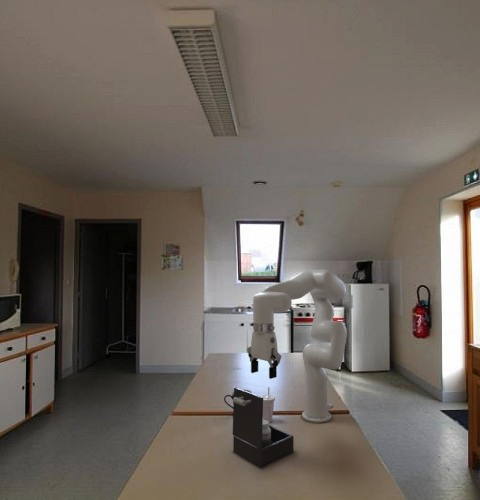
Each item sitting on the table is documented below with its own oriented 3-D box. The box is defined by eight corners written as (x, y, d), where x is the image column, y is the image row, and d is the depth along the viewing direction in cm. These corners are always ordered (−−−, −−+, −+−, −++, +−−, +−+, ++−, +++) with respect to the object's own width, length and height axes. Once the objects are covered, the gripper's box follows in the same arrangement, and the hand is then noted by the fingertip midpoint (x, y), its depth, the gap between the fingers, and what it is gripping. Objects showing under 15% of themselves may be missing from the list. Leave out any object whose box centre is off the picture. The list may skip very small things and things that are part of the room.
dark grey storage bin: (265, 438, 145) (265, 423, 146) (293, 452, 135) (293, 435, 135) (233, 452, 135) (233, 435, 135) (261, 468, 124) (261, 450, 124)
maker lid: (235, 387, 136) (224, 389, 133) (263, 397, 126) (251, 400, 122) (234, 434, 135) (222, 438, 132) (262, 448, 125) (250, 453, 121)
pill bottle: (255, 446, 137) (255, 419, 138) (270, 446, 138) (270, 418, 138) (256, 454, 132) (256, 425, 132) (271, 453, 132) (271, 424, 133)
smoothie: (273, 424, 159) (273, 390, 159) (258, 423, 160) (258, 389, 160) (276, 418, 165) (276, 385, 165) (261, 417, 166) (261, 384, 167)
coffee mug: (255, 414, 169) (255, 391, 169) (244, 421, 162) (244, 397, 162) (234, 409, 175) (234, 387, 176) (222, 415, 168) (222, 392, 168)
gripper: (287, 329, 136) (287, 378, 135) (255, 324, 148) (255, 368, 148) (272, 332, 130) (272, 382, 130) (240, 326, 143) (240, 372, 142)
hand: (263, 375), depth 139 cm, fingers open, 9 cm apart
